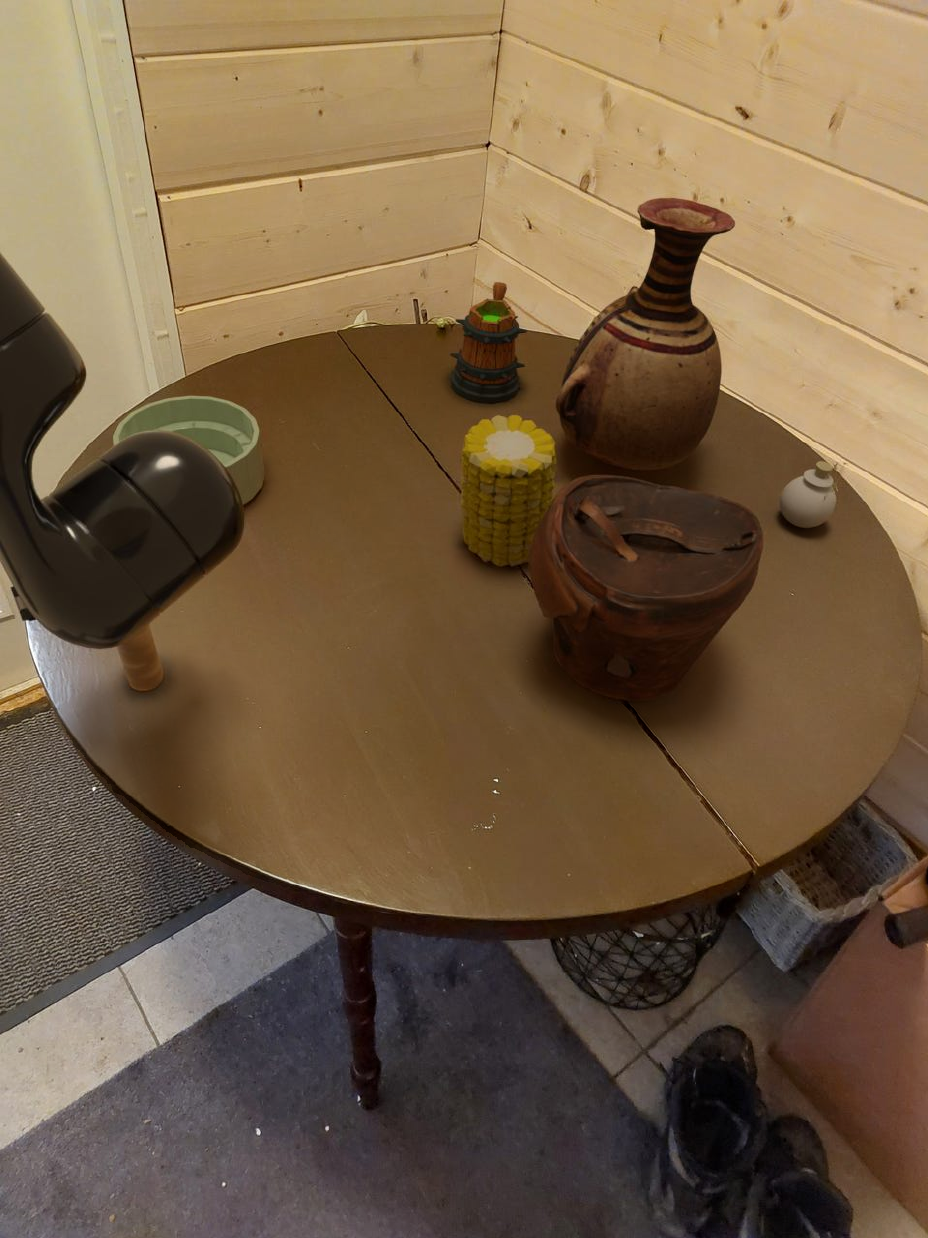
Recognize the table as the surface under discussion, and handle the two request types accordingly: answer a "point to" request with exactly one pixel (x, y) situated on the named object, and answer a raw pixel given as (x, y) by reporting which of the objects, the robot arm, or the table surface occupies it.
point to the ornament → (810, 497)
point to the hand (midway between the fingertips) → (115, 584)
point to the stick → (141, 661)
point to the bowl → (207, 433)
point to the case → (639, 579)
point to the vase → (649, 354)
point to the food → (505, 487)
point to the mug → (488, 351)
